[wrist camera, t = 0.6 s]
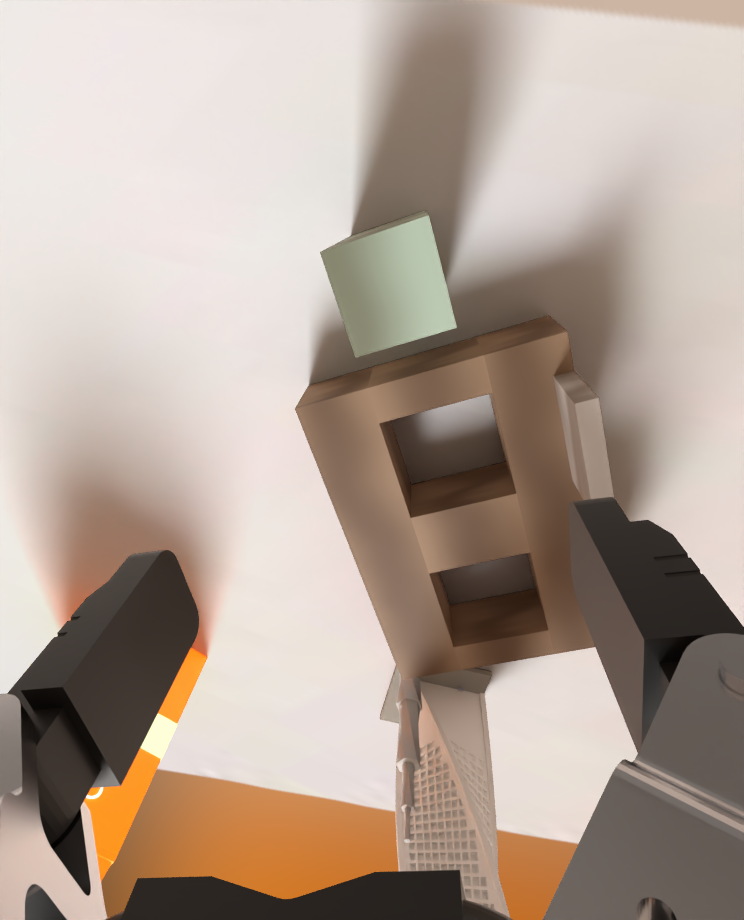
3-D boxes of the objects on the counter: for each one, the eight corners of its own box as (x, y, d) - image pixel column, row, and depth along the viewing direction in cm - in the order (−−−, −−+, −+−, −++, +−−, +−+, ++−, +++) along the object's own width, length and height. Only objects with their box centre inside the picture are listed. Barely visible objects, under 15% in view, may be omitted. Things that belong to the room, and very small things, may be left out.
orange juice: (108, 597, 40) (-139, 916, 22) (209, 656, 42) (56, 995, 24) (66, 655, 43) (-182, 978, 25) (162, 708, 45) (-6, 1044, 27)
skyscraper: (509, 675, 41) (660, 1444, 16) (478, 745, 44) (559, 1463, 19) (400, 651, 41) (373, 1392, 15) (377, 723, 44) (325, 1421, 19)
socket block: (548, 315, 29) (591, 352, 22) (600, 599, 37) (644, 695, 30) (308, 385, 32) (277, 439, 25) (403, 636, 40) (400, 732, 33)
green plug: (424, 210, 28) (428, 215, 19) (444, 288, 29) (457, 327, 20) (350, 235, 28) (319, 252, 19) (373, 310, 30) (355, 357, 21)
